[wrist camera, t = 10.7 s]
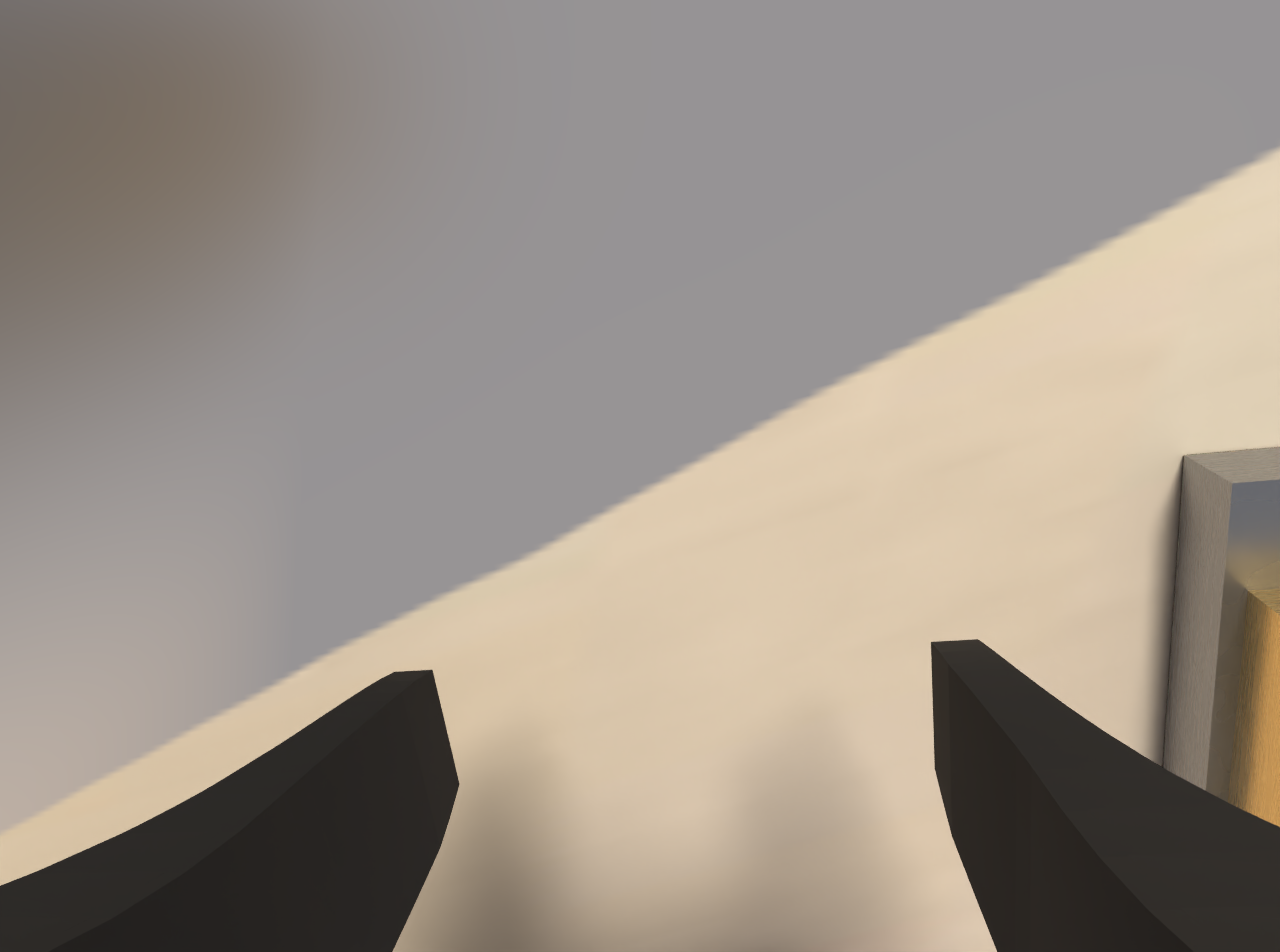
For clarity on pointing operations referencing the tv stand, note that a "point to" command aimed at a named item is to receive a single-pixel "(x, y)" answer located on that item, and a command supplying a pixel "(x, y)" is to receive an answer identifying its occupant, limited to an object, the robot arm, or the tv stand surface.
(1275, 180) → the tv stand surface
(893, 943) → the tv stand surface
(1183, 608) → the grey piece
